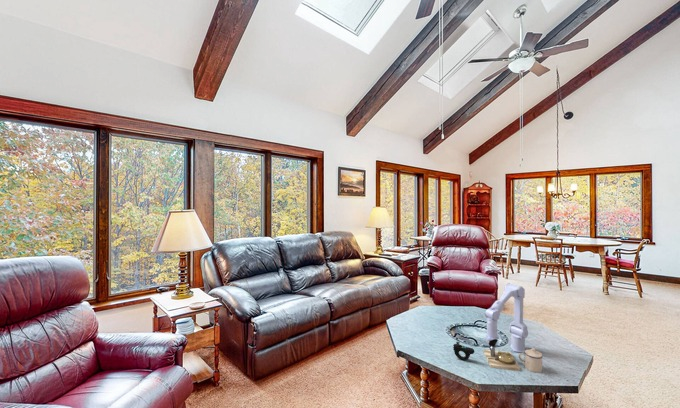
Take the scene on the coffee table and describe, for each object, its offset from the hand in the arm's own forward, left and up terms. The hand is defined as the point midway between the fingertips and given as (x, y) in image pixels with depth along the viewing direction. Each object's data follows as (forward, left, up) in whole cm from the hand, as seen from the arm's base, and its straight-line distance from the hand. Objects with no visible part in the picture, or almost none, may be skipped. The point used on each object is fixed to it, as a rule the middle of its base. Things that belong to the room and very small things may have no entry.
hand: (492, 350), depth 188 cm
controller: (+5, -17, -6) cm, 19 cm away
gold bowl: (+3, +5, -4) cm, 7 cm away
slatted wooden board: (+1, +5, -6) cm, 7 cm away
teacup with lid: (+5, +20, -6) cm, 21 cm away
